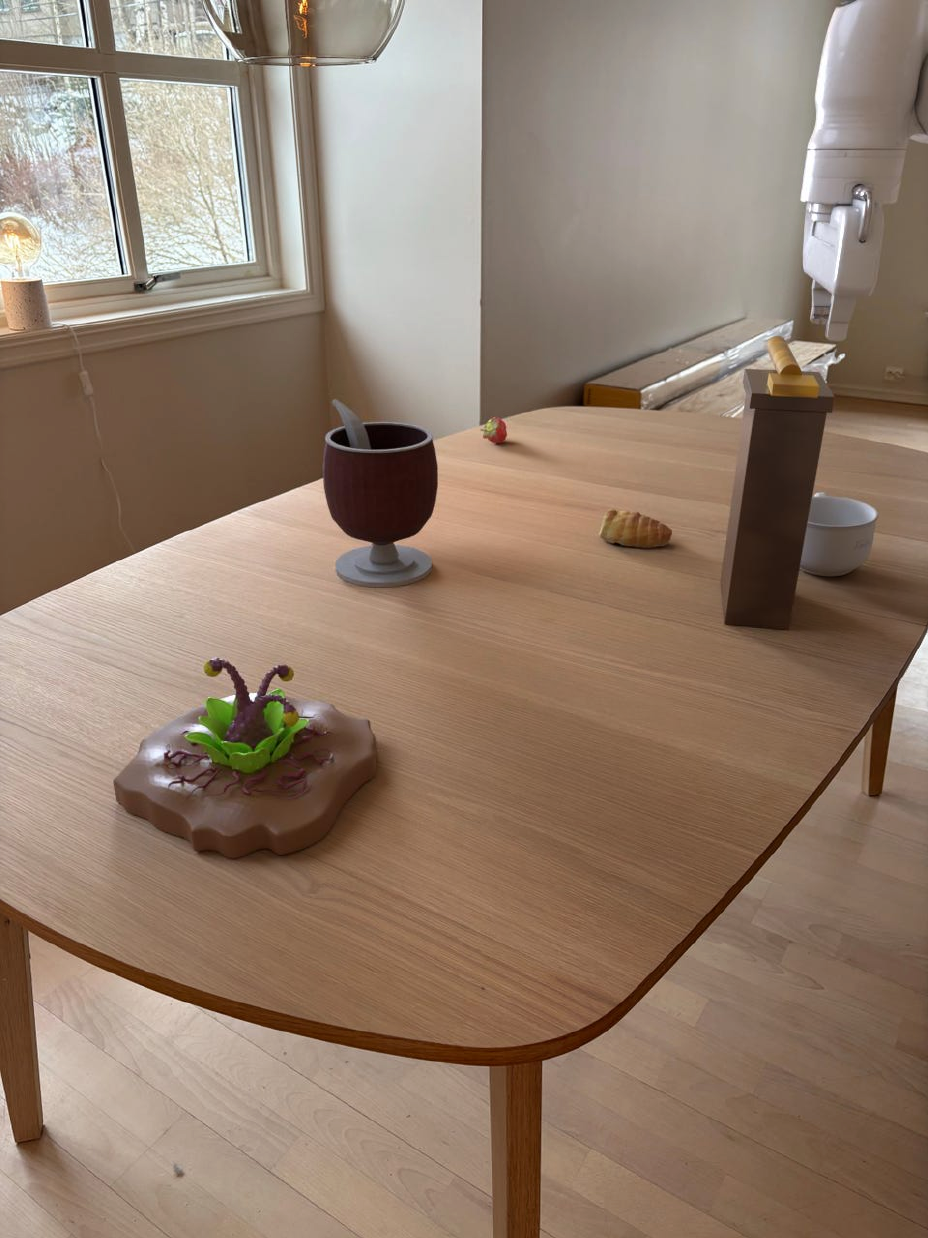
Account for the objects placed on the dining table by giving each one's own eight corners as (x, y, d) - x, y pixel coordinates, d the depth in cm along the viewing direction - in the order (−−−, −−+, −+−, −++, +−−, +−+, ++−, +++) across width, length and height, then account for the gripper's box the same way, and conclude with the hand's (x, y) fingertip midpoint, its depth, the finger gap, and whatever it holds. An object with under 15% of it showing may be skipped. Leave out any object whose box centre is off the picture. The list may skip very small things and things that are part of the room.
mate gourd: (461, 568, 121) (461, 412, 112) (376, 600, 112) (369, 434, 103) (382, 535, 131) (377, 390, 122) (299, 563, 122) (287, 408, 113)
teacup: (866, 590, 115) (879, 528, 112) (773, 577, 119) (783, 516, 115) (865, 549, 127) (877, 492, 124) (781, 538, 130) (790, 482, 127)
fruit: (516, 440, 173) (517, 413, 171) (495, 447, 169) (496, 420, 167) (498, 436, 176) (498, 409, 173) (477, 443, 172) (477, 416, 169)
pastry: (674, 536, 131) (677, 510, 129) (665, 554, 125) (668, 527, 124) (607, 527, 134) (609, 501, 132) (595, 544, 128) (597, 518, 127)
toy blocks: (794, 355, 113) (797, 336, 112) (817, 398, 93) (821, 375, 92) (755, 353, 114) (758, 334, 113) (771, 395, 94) (774, 373, 93)
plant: (225, 697, 92) (212, 592, 87) (406, 741, 86) (403, 630, 81) (77, 817, 76) (50, 696, 71) (287, 882, 69) (274, 754, 64)
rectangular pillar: (783, 586, 116) (819, 371, 105) (793, 630, 106) (835, 396, 94) (716, 581, 118) (744, 368, 106) (719, 624, 107) (751, 392, 95)
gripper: (912, 187, 82) (881, 351, 88) (864, 179, 100) (841, 316, 106) (835, 187, 83) (809, 350, 89) (801, 179, 101) (782, 315, 107)
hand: (826, 331), depth 97 cm, fingers open, 8 cm apart
